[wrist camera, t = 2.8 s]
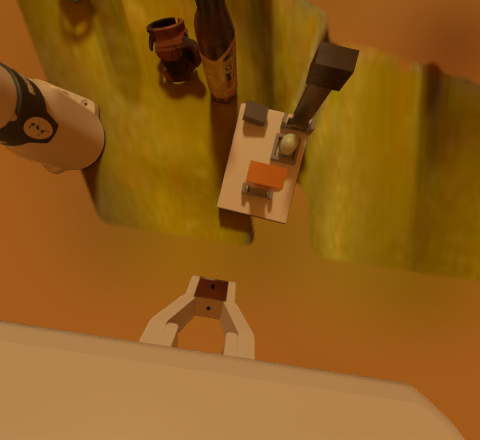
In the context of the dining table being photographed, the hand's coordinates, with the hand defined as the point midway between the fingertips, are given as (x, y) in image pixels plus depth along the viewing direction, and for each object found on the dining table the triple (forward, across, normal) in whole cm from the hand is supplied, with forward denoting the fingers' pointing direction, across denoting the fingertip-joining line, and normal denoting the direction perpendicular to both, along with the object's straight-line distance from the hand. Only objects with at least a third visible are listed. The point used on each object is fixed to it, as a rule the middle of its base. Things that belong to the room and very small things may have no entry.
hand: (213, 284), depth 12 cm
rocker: (+31, -1, -13) cm, 34 cm away
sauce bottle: (+40, +7, -17) cm, 43 cm away
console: (+32, -5, -3) cm, 32 cm away
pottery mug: (+42, +17, -20) cm, 50 cm away
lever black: (+31, -9, -12) cm, 34 cm away
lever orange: (+25, -4, 0) cm, 25 cm away
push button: (+30, -8, -8) cm, 32 cm away
